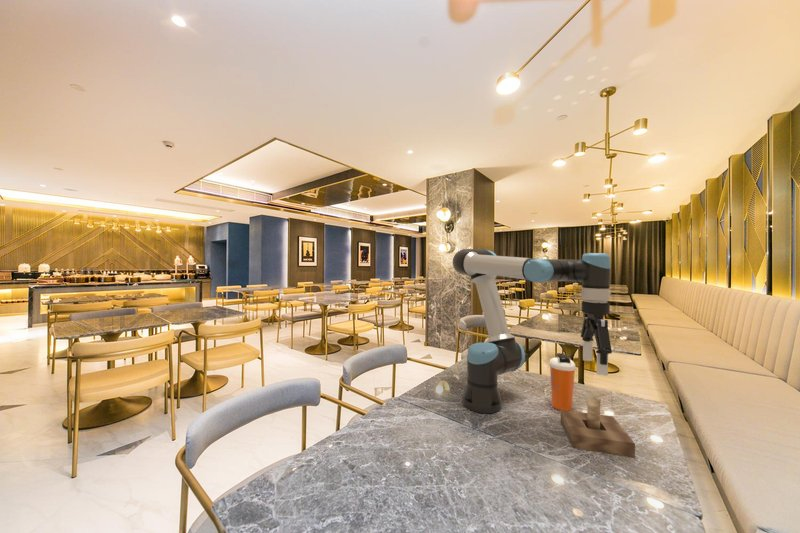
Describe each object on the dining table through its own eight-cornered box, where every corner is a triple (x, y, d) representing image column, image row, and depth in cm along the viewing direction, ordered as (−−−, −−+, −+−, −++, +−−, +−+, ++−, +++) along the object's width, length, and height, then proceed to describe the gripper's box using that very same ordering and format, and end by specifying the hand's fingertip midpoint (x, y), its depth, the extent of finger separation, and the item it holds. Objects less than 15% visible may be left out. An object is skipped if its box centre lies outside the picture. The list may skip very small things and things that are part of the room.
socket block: (572, 447, 91) (573, 434, 91) (560, 420, 106) (560, 409, 106) (634, 457, 87) (635, 443, 87) (612, 428, 102) (612, 416, 102)
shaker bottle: (568, 402, 121) (569, 352, 121) (579, 413, 112) (580, 359, 112) (545, 400, 122) (546, 352, 122) (554, 411, 113) (555, 358, 113)
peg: (589, 439, 96) (589, 401, 95) (585, 433, 99) (586, 397, 99) (601, 441, 94) (602, 403, 94) (597, 435, 98) (598, 398, 98)
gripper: (626, 307, 83) (625, 383, 83) (595, 297, 107) (594, 356, 107) (595, 305, 85) (594, 380, 86) (571, 296, 109) (570, 354, 109)
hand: (594, 367), depth 96 cm, fingers open, 13 cm apart
